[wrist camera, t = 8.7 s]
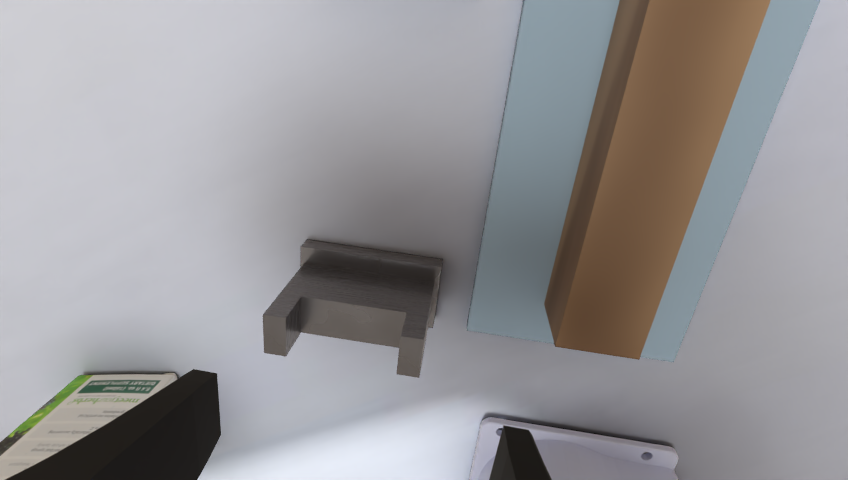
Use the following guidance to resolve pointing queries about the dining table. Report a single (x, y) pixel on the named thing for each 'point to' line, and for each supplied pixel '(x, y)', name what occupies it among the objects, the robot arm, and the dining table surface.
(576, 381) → the dining table surface
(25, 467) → the syrup box
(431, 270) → the bracket
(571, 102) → the mat
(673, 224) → the rail
